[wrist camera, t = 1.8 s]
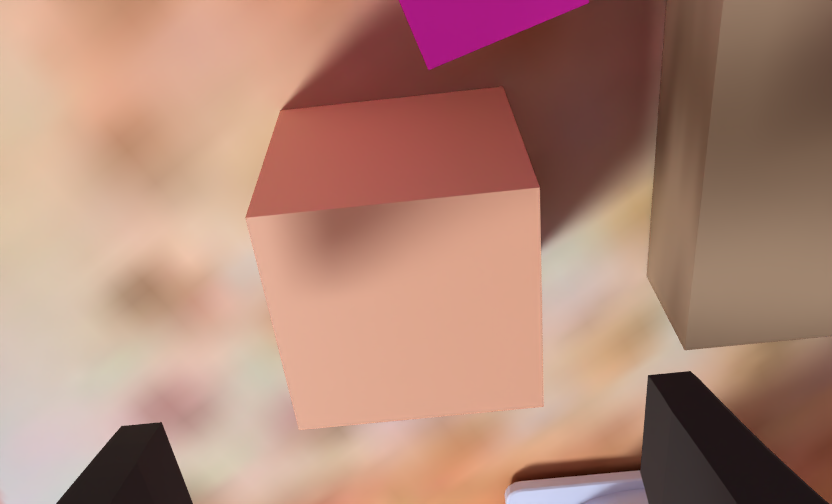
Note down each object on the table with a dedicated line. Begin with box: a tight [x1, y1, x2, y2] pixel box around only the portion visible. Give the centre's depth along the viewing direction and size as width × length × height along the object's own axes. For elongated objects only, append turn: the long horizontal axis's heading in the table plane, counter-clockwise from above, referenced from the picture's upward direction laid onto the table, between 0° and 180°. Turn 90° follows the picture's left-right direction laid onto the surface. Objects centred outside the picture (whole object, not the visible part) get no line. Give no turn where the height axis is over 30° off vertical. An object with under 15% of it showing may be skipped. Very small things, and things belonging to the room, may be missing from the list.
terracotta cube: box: [246, 86, 544, 430], centre depth 16 cm, size 5×5×5 cm
